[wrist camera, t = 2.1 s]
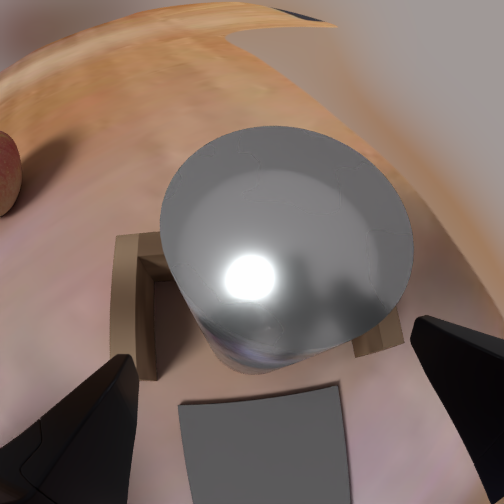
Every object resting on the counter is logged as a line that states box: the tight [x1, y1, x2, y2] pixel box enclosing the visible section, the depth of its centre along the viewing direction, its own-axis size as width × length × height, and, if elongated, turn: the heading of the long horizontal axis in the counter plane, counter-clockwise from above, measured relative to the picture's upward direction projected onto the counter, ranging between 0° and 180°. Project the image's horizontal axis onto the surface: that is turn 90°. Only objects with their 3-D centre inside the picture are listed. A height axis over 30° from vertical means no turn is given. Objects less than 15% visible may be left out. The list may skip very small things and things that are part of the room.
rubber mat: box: [178, 386, 350, 504], centre depth 13 cm, size 10×10×1 cm
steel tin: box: [160, 126, 414, 375], centre depth 12 cm, size 6×6×13 cm
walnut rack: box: [110, 232, 404, 381], centre depth 16 cm, size 8×16×4 cm, turn 97°
